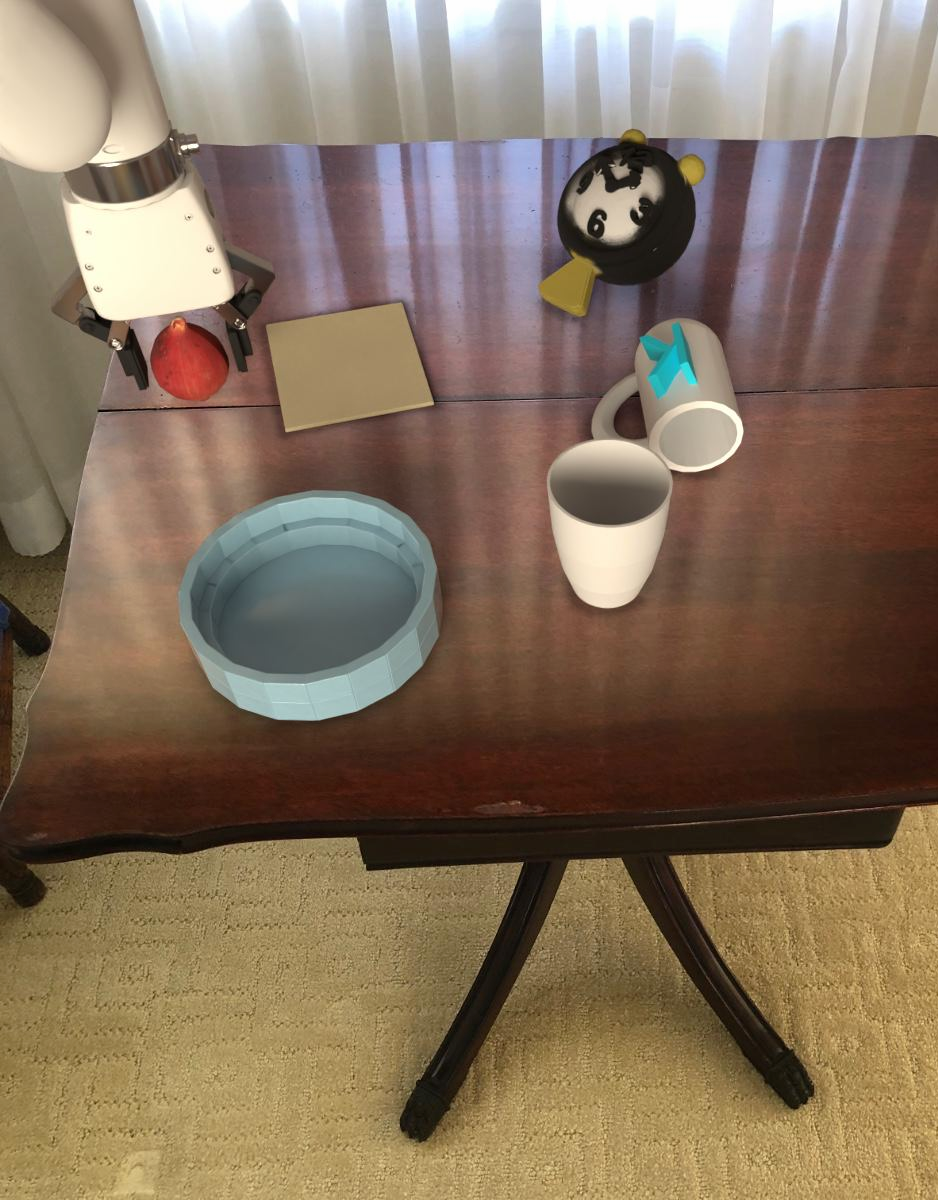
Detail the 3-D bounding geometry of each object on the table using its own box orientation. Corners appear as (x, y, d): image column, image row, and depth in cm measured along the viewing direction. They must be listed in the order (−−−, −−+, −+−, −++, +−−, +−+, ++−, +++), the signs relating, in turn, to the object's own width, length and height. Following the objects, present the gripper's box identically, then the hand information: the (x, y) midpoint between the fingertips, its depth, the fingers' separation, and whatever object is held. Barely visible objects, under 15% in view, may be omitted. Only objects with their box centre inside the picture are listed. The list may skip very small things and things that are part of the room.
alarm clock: (537, 294, 106) (537, 125, 100) (687, 297, 107) (697, 129, 100) (538, 318, 95) (538, 131, 89) (704, 321, 96) (716, 135, 90)
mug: (693, 269, 85) (719, 368, 78) (728, 353, 92) (754, 452, 85) (556, 325, 88) (567, 426, 81) (599, 403, 95) (614, 503, 87)
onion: (175, 431, 88) (144, 349, 81) (158, 388, 91) (127, 307, 85) (247, 409, 89) (222, 328, 83) (227, 368, 93) (202, 287, 86)
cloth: (286, 432, 88) (284, 428, 87) (266, 328, 96) (265, 324, 96) (434, 405, 90) (433, 401, 90) (402, 305, 98) (402, 301, 98)
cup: (673, 550, 80) (683, 449, 73) (651, 635, 75) (659, 537, 68) (565, 530, 81) (564, 429, 74) (537, 613, 76) (532, 514, 69)
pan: (207, 751, 69) (187, 711, 66) (189, 560, 79) (171, 517, 76) (465, 689, 72) (459, 648, 69) (417, 513, 82) (409, 470, 79)
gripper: (247, 117, 78) (297, 324, 92) (-14, 151, 75) (79, 360, 88) (258, 171, 74) (309, 380, 87) (-19, 210, 70) (79, 421, 84)
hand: (192, 369), depth 88 cm, fingers open, 7 cm apart
